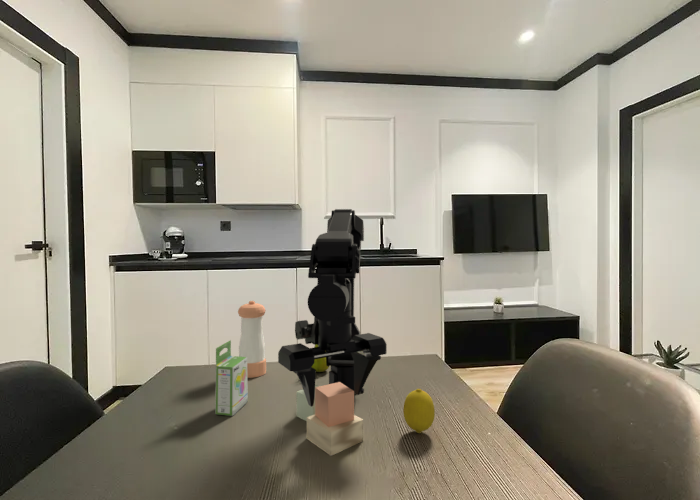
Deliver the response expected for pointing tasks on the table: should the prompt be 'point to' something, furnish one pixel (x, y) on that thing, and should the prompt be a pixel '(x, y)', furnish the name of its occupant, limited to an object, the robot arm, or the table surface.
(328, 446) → the maple base
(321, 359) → the fruit
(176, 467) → the table surface
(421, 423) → the lemon
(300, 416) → the sage cube
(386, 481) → the table surface
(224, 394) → the ink box
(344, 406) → the terracotta cube
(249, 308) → the pepper shaker
